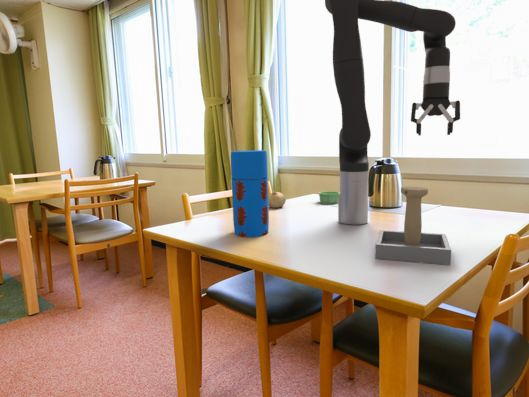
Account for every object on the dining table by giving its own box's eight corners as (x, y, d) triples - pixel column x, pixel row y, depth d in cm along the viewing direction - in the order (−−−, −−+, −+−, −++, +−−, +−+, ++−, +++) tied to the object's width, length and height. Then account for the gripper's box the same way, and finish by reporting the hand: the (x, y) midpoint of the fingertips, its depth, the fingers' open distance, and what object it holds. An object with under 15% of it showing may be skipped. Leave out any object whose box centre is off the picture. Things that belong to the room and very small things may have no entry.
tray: (375, 258, 89) (375, 244, 89) (379, 242, 102) (379, 230, 102) (450, 265, 84) (451, 249, 83) (444, 247, 97) (445, 234, 96)
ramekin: (342, 201, 166) (342, 191, 165) (335, 205, 158) (335, 194, 158) (323, 200, 171) (323, 190, 170) (315, 203, 163) (315, 193, 162)
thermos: (256, 239, 109) (253, 152, 105) (226, 234, 115) (223, 152, 111) (275, 230, 118) (273, 150, 114) (247, 227, 124) (244, 150, 120)
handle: (413, 253, 89) (416, 190, 87) (395, 246, 95) (396, 187, 93) (429, 250, 91) (432, 189, 88) (410, 244, 97) (412, 186, 94)
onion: (264, 206, 159) (264, 189, 158) (282, 205, 161) (282, 188, 160) (269, 210, 152) (268, 192, 151) (288, 208, 154) (287, 191, 152)
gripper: (412, 83, 118) (410, 135, 120) (463, 79, 113) (460, 134, 115) (411, 85, 125) (410, 135, 127) (460, 82, 120) (457, 134, 122)
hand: (433, 135), depth 121 cm, fingers open, 8 cm apart
